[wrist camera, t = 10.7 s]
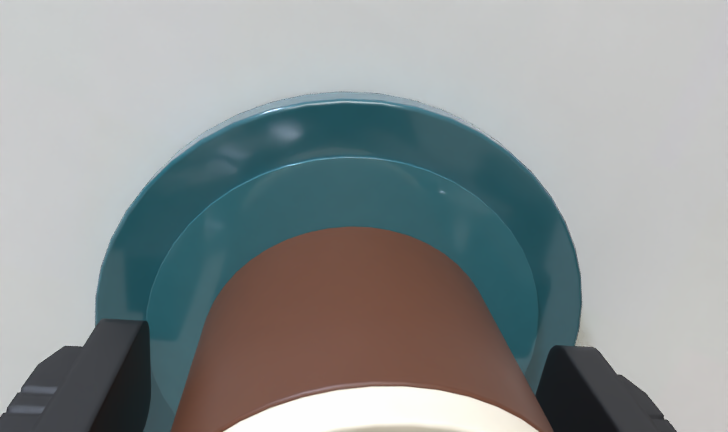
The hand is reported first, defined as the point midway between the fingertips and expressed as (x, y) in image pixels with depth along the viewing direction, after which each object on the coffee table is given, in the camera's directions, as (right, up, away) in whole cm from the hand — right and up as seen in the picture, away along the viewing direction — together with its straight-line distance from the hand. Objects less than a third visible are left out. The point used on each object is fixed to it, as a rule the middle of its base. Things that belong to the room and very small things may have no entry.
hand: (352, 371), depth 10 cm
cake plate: (0, +1, +2) cm, 2 cm away
